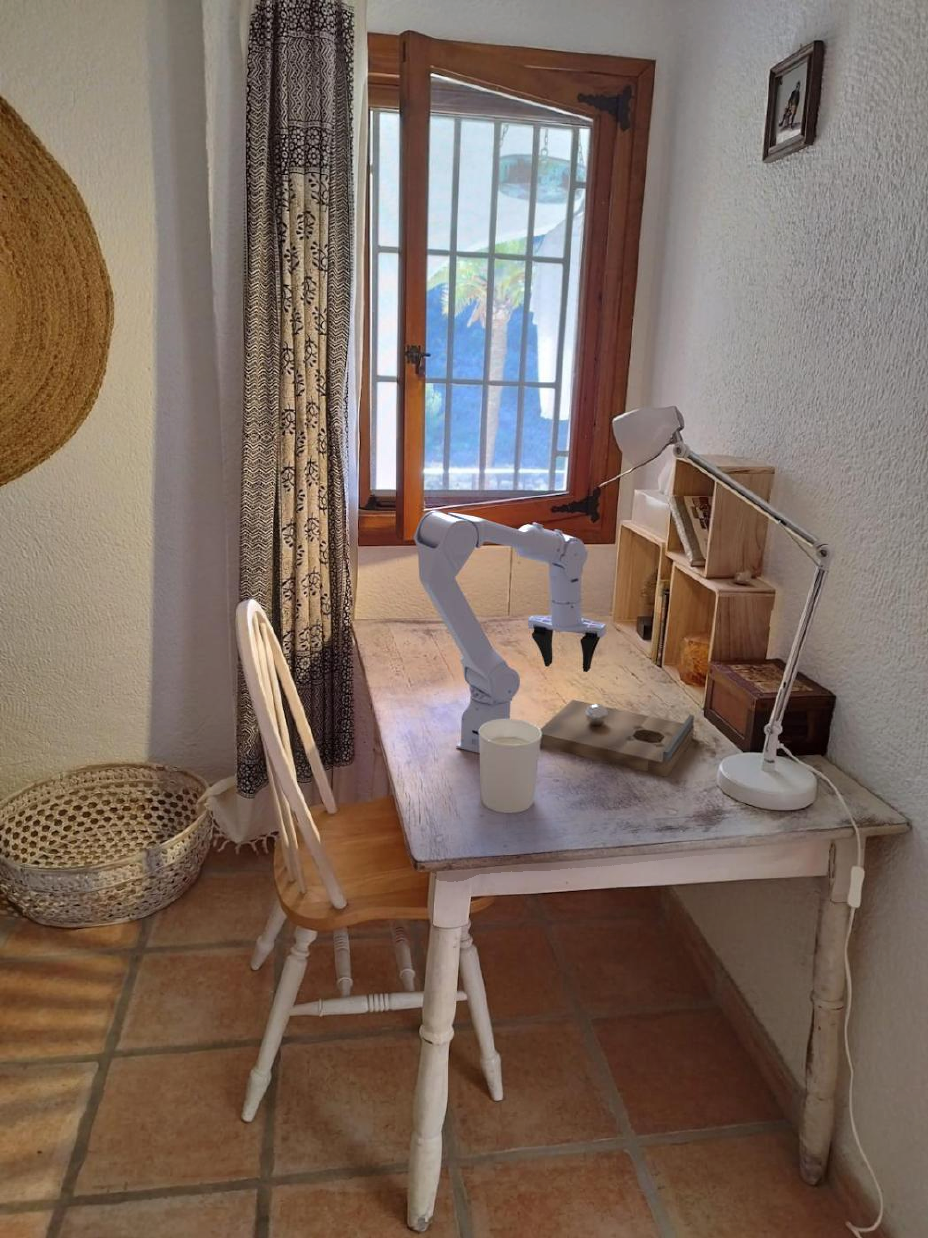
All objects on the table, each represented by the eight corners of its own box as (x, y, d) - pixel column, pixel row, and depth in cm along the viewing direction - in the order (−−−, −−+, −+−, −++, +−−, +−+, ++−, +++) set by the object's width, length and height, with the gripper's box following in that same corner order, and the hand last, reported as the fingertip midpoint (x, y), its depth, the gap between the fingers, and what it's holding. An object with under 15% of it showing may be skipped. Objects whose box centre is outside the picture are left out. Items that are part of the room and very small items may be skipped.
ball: (602, 730, 162) (604, 710, 161) (581, 726, 164) (583, 705, 162) (609, 723, 165) (611, 703, 164) (589, 718, 167) (590, 698, 166)
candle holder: (550, 800, 142) (554, 731, 138) (511, 823, 135) (515, 751, 131) (502, 780, 148) (505, 713, 144) (463, 800, 141) (465, 731, 137)
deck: (535, 745, 161) (537, 722, 160) (571, 711, 176) (573, 690, 175) (666, 777, 150) (669, 752, 149) (692, 738, 166) (695, 715, 164)
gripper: (611, 595, 162) (611, 663, 167) (537, 588, 169) (539, 654, 174) (598, 608, 157) (599, 678, 161) (522, 600, 163) (525, 668, 168)
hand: (567, 667), depth 167 cm, fingers open, 7 cm apart
